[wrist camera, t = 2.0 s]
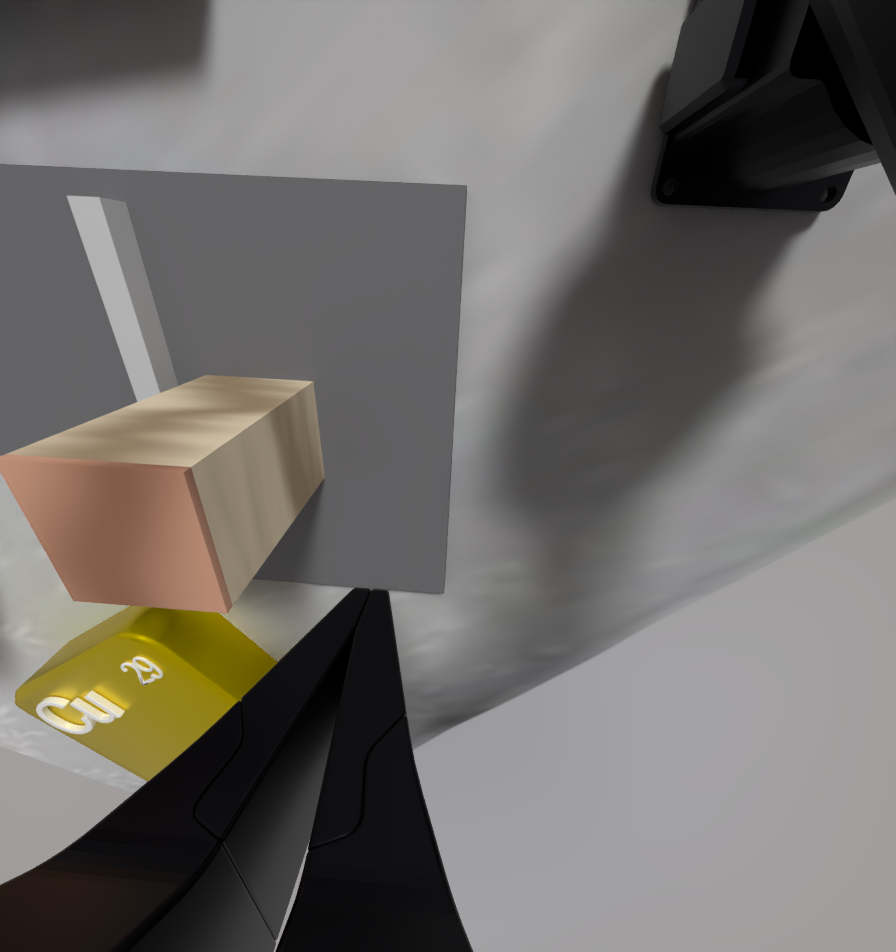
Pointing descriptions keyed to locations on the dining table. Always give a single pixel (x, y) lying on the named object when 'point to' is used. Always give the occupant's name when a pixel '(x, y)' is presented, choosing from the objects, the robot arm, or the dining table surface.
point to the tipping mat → (252, 333)
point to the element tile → (145, 684)
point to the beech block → (173, 491)
